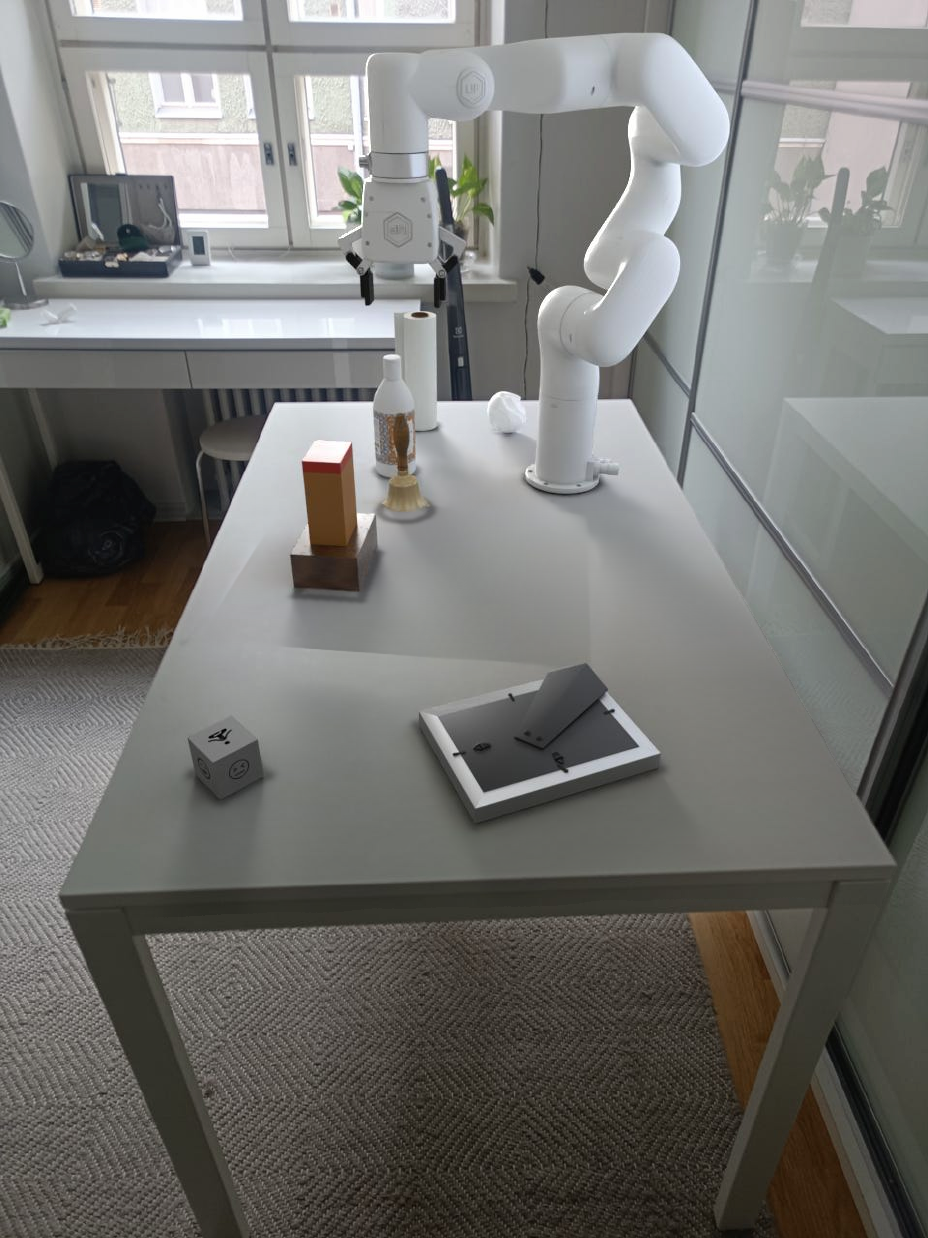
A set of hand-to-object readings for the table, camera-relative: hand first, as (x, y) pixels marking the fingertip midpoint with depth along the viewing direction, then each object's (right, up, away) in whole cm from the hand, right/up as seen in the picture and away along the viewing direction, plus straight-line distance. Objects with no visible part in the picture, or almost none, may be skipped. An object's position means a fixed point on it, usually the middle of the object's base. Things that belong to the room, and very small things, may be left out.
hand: (403, 304), depth 121 cm
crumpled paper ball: (+17, -8, +48) cm, 51 cm away
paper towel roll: (0, -6, +50) cm, 50 cm away
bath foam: (-3, -18, +32) cm, 37 cm away
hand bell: (-1, -26, +19) cm, 33 cm away
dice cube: (-16, -60, -32) cm, 70 cm away
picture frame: (+16, -58, -28) cm, 66 cm away
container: (-13, -31, -2) cm, 34 cm away
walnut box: (-9, -37, +2) cm, 39 cm away
